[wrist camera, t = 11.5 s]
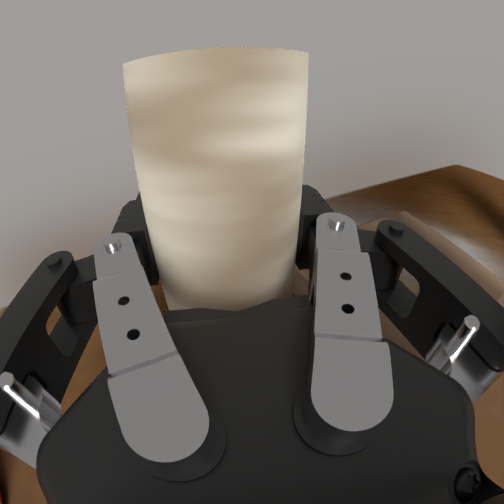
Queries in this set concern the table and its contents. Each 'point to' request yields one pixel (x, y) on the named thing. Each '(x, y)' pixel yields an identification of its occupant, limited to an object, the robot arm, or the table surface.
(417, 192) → the table surface
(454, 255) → the walnut pocket board
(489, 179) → the table surface
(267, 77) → the birch post
